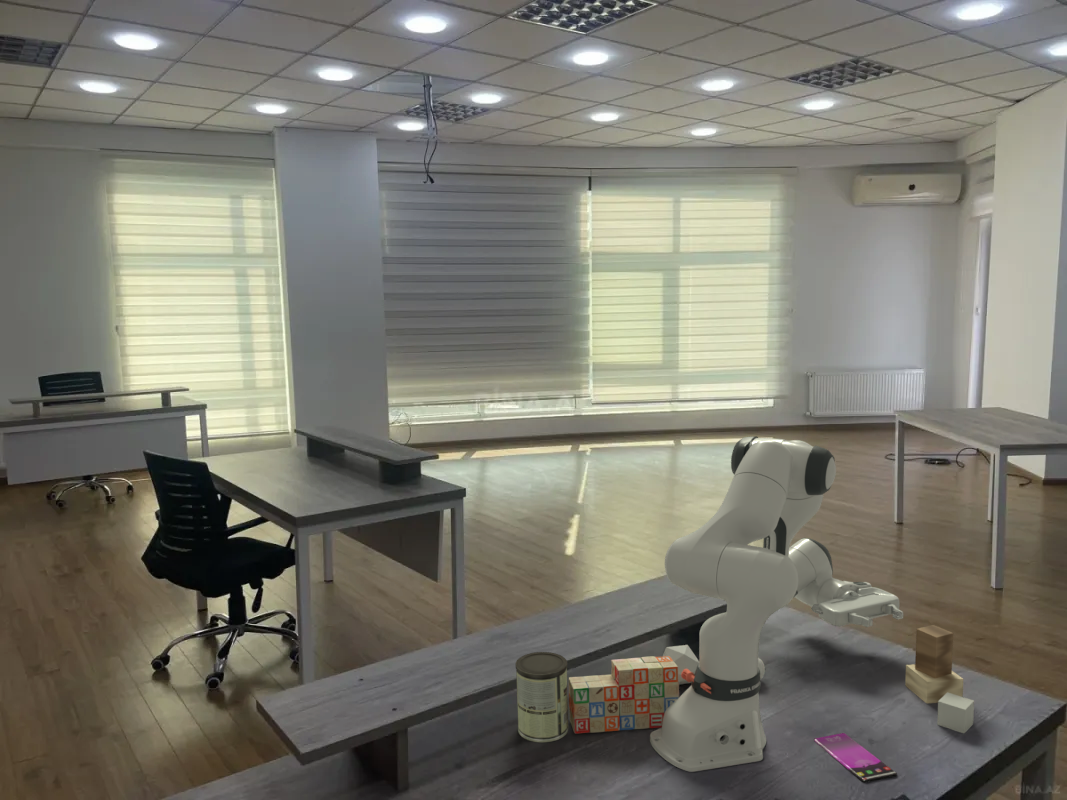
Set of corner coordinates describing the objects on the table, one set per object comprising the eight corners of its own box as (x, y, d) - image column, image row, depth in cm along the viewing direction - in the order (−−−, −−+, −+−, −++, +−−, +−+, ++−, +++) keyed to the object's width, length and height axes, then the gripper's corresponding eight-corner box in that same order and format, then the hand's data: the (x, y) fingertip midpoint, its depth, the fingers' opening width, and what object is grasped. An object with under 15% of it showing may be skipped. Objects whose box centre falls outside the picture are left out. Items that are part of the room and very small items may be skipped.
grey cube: (964, 734, 159) (965, 709, 159) (937, 724, 163) (938, 701, 162) (973, 724, 163) (974, 700, 162) (946, 715, 166) (947, 692, 166)
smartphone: (863, 785, 144) (863, 780, 144) (812, 741, 158) (812, 737, 158) (898, 778, 146) (898, 773, 146) (845, 735, 160) (845, 731, 160)
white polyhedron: (694, 696, 178) (711, 654, 181) (659, 678, 178) (676, 636, 181) (681, 692, 186) (697, 652, 189) (648, 675, 186) (664, 635, 188)
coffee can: (514, 719, 169) (512, 653, 167) (563, 714, 170) (561, 649, 169) (521, 745, 159) (519, 676, 157) (573, 740, 160) (571, 671, 159)
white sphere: (768, 685, 181) (769, 661, 180) (743, 686, 180) (743, 662, 180) (757, 670, 188) (757, 646, 188) (733, 671, 188) (733, 647, 187)
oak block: (926, 704, 171) (927, 681, 171) (905, 686, 179) (905, 665, 178) (962, 701, 172) (963, 679, 171) (939, 684, 180) (940, 662, 179)
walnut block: (934, 678, 172) (936, 637, 171) (915, 668, 176) (916, 628, 175) (951, 673, 174) (953, 633, 173) (931, 664, 179) (933, 624, 177)
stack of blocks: (574, 735, 161) (572, 673, 161) (569, 721, 167) (567, 662, 167) (680, 726, 164) (678, 665, 163) (671, 713, 170) (669, 654, 169)
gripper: (807, 594, 194) (851, 614, 181) (871, 580, 202) (918, 598, 190) (806, 620, 195) (851, 641, 182) (870, 605, 203) (917, 624, 190)
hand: (886, 619), depth 186 cm, fingers open, 8 cm apart
